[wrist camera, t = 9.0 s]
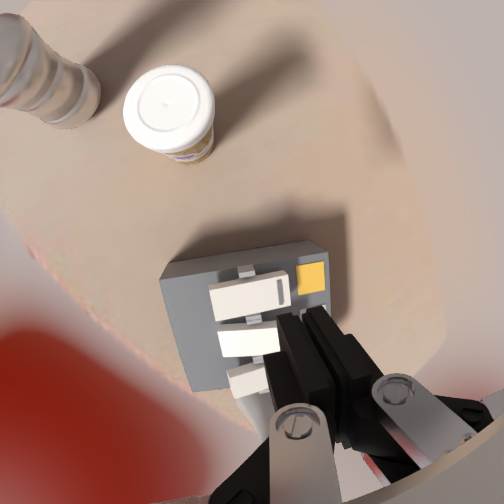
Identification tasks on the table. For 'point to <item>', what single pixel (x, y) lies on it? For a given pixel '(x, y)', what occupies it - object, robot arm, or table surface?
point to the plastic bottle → (43, 78)
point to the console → (205, 327)
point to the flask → (257, 412)
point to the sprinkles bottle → (172, 113)
